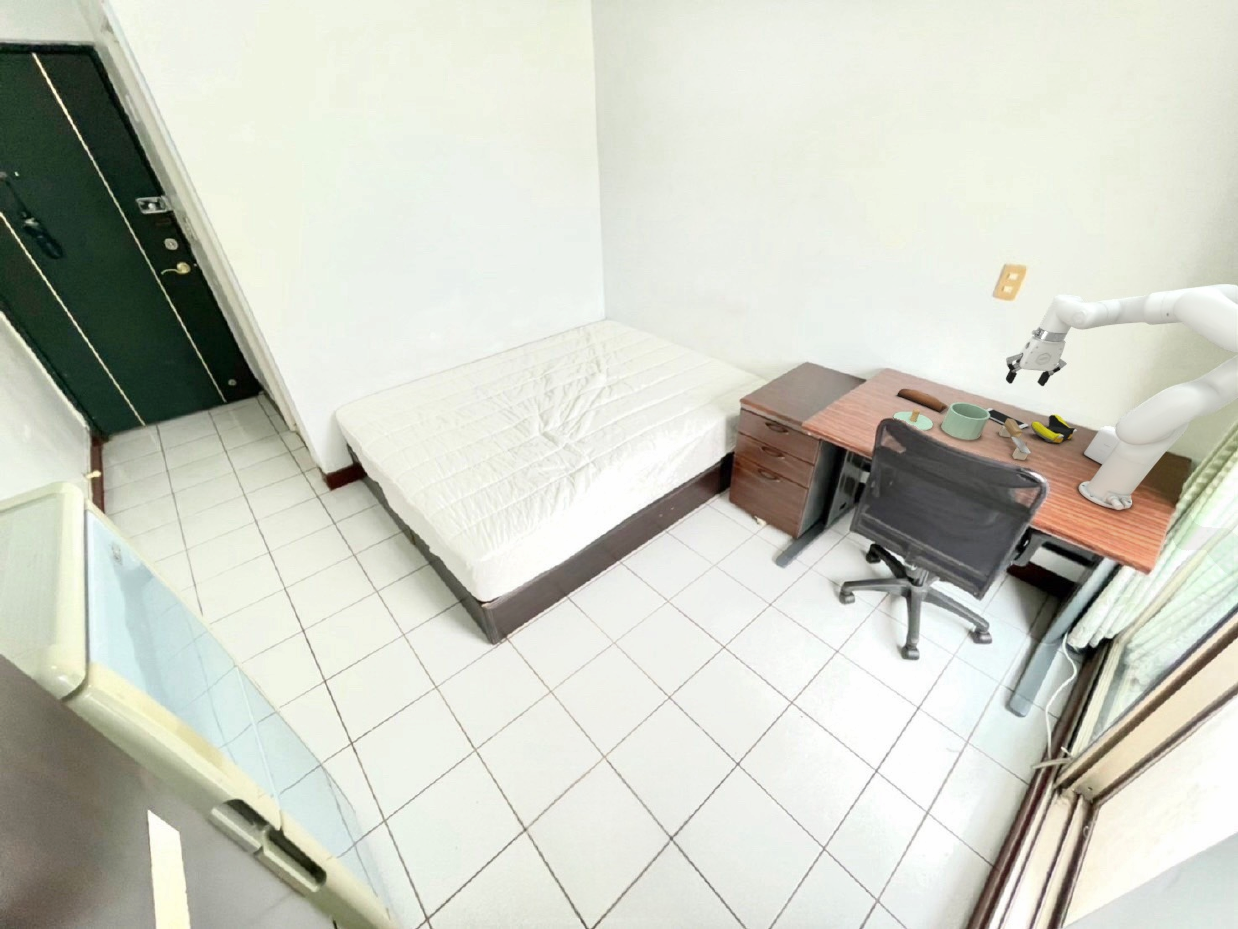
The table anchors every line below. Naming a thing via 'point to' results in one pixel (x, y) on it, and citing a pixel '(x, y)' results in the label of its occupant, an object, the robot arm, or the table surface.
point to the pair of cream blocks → (1017, 453)
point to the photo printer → (1102, 444)
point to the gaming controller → (1053, 430)
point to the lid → (915, 419)
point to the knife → (1016, 435)
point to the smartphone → (1003, 418)
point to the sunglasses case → (922, 399)
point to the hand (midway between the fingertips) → (1024, 383)
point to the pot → (965, 420)
